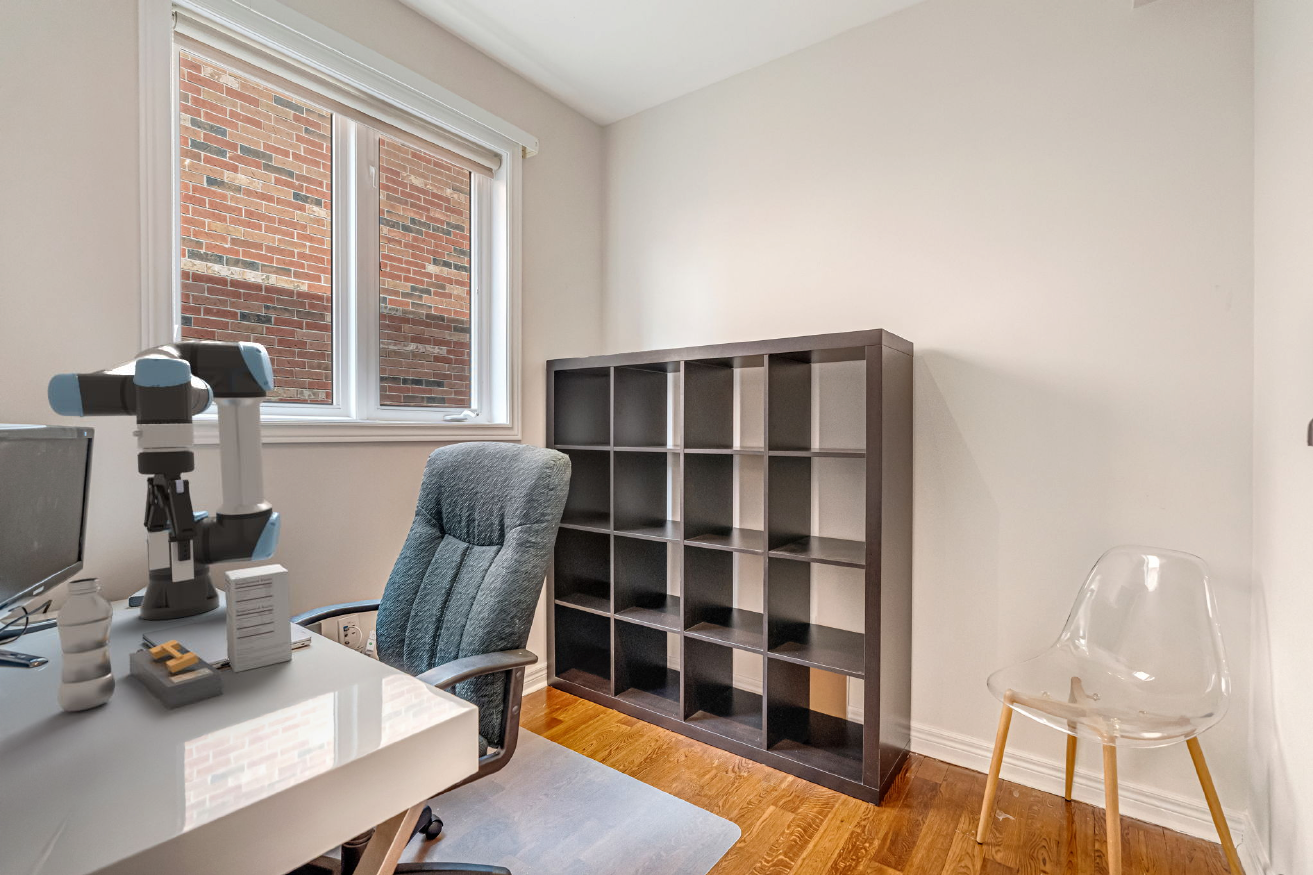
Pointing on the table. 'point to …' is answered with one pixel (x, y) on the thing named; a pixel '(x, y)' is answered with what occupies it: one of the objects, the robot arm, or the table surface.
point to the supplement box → (258, 617)
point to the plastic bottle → (85, 647)
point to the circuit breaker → (175, 679)
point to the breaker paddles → (179, 660)
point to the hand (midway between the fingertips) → (171, 574)
